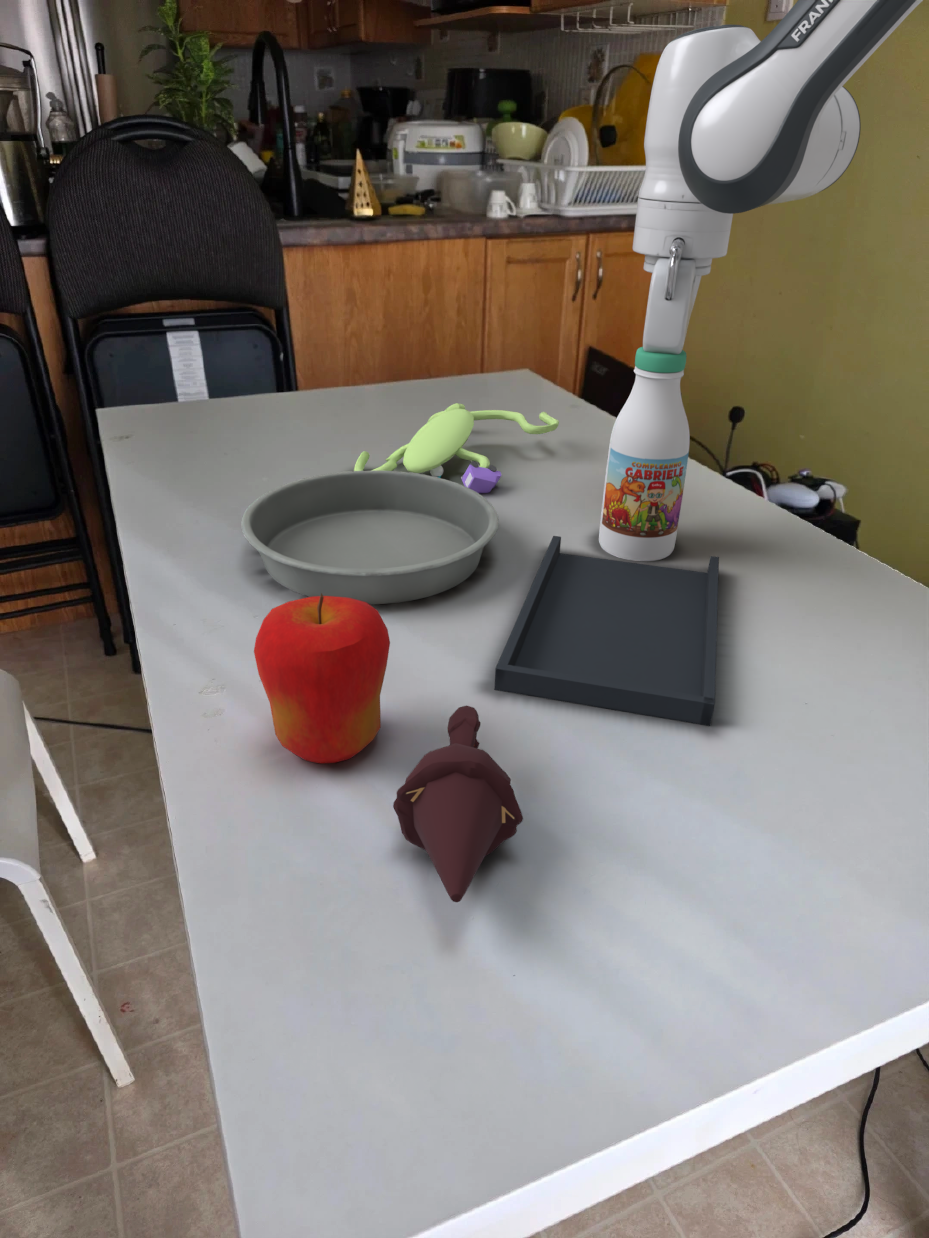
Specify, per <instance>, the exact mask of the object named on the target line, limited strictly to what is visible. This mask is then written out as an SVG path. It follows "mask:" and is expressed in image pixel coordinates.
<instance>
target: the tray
mask: <svg viewBox="0 0 929 1238" xmlns="http://www.w3.org/2000/svg"><path fill="white" fill-rule="evenodd" d="M561 543H562V536H560V535H553V536H552V538H551V541H550V543H549V545H548V547H547V549H546V552H545V554H544V556H543V559H542V561H541V563H540V566H539V568H538V570H537V572H536V575H535V576H534V579H533V582H532V584H531V586H530V588H529V591H528V594H527V596H526V598H525V600H524V603H523V604H522V606H521V609H520V611H519V613H518V615H517V618H516V621H515V622H514V625H513V628H512V630H511V632H510V633H509V634H510V635H509V637H508V639H507V641H506V644H505V646H504V648H503V650H502V652H501V655H500V658H499V660H498V662H497V664H496V666H495V669H494V671H495V672H494V691H499V692H506V693H511V694H516V695H521V696H529V697H535V698H540V699H547V700H551V701H558V702H564V703H570V704H576V705H581V706H589V707H593V708H598V709H599V708H600V709H604V710H611V711H617V712H622V713H629V714H634V715H640V716H648V717H652V718H653V717H654V718H659V719H666V720H671V721H675V722H683V723H688V724H693V725H701V726H706V727H711V725H712V720H713V716H714V711H715V705H716V678H717V677H716V674H717V641H718V639H717V638H718V601H719V568H720V567H719V566H720V565H719V564H720V557H719V556H715V555H710V556H709V561H708V567H707V572H705V571H697V570H690V569H683V568H675V567H667V566H660V565H652V564H645V563H637V562H631V561H630V562H629V561H624V560H623V561H622V560H615V559H609V558H608V559H606V558H600V557H593V556H584V555H577V554H569V553H563V552H562V553H561V545H562V544H561Z"/></svg>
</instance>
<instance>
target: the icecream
mask: <svg viewBox="0 0 929 1238" xmlns="http://www.w3.org/2000/svg"><path fill="white" fill-rule="evenodd" d="M479 716H480V715H479V713H478V711H477V709H476V708H475V707H473V706H469V705H463V706H460V707H458V708H457V709H456V710H455V711H454V712H453V713H452V714H451V716H449V718H448V723H447V734H448V738H449V745H446V746H443V747H439V748H435V749H433V750H430V751H428V752H427V753H426V754H424V755H423V756H422V757H421V759H420V760H419V762H418V763H416V765H415V766H414V768H413V769H412V771H410V773H409V774H408V776H407V777H406V779H405V782H404V783H403V785H401V786H400V787H399V788H397V790H396V798H395V799H394V801H393V805H392V808H393V811H394V812H395V814H396V815H397V819H398V822H399V826H400V830H401V834H402V836H403V837H404V838H405V840H406V841H407V842H408V843H411V844H412V845H414V846H416V847H418V848H420V849H422V850H424V851H426V853H427V855H428V856H429V858H430V861H431V862H432V864H433V867H434V869H435V870H436V872H437V875H438V876H439V879H440V881H441V883H442V885H443V887H444V890H445V892H446V893H447V895H448V897H449V899H450V900H451V901H452V902H453V903H454V902H455V903H459V902H461V901H462V900H463V898H464V896H465V894H466V893H467V891H468V889H469V887H470V886H471V883H472V881H473V879H474V878H475V876H476V873H477V872H478V870H479V868H480V866H481V864H482V863H483V861H484V859H485V857H486V856H488V855H490V854H492V853H493V852H494V851H496V849H497V848H498V847H500V845H502V844H503V843H504V842H505V841H507V840H509V839H511V838H512V837H514V836H515V835H516V833H517V831H518V830H517V828H518V826H519V825H520V824H521V823H523V821H524V816H523V812H522V810H521V807H520V805H519V802H518V800H517V798H516V795H515V791H514V789H513V787H512V785H511V780H512V779H511V777H510V776H509V775H508V774H507V773H506V771H505V770H503V769H502V767H501V766H500V765H499V764H498V763H497V761H495V760H494V758H493V757H492V756H491V755H490V754H489V753H488V752H487V751H485V750H484V749H482V748H479V746H480V742H479V740H478V739H477V734H478V732H479V730H480V728H481V721H480V719H479Z"/></svg>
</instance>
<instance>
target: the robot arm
mask: <svg viewBox="0 0 929 1238" xmlns="http://www.w3.org/2000/svg"><path fill="white" fill-rule="evenodd" d="M923 1H924V0H797V1H796V2H795V4H793V6H791V8H790V10H789V11H788V12H787V13H786V14H785V15H784V16H783V18H782V19H781V20H780V21H779V22H778V23H777V24H776V26H775V27H774V28H773V29H772V30H771V31H770V32H769V33H768V34H767V35H766V36H764V38H763V39H762V40H761V39H759V37H758V36H757V35H756V33H755V32H754V31H753V29H751V28H750V27H748V26H744V25H742V24H721V25H709V26H703V27H700V28H696V29H693V30H689V31H686V32H683V33H682V34H679V35H677V37H676V38H674V39H672V40H671V41H670V42H669V43H667V45H666V46H665V48H663V51H662V53H661V55H660V57H659V59H658V62H657V65H656V70H655V73H654V77H653V82H652V86H651V91H650V99H649V103H648V110H647V116H646V124H645V132H644V140H643V149H644V155H645V170H644V176H643V179H642V183H641V185H640V187H639V189H638V190H639V191H638V195H637V197H638V198H637V205H636V213H635V221H634V222H635V223H634V231H633V240H632V251H633V252H634V253H637V254H640V255H644V262H643V270H644V271H645V272H647V273H651V277H650V282H649V289H648V297H647V303H646V304H647V306H646V312H645V318H644V327H643V335H642V347H643V350H644V351H645V352H654V353H666V354H680V353H681V352H682V350H684V347H685V341H686V338H687V332H688V329H689V324H690V320H691V315H692V313H693V309H694V305H695V302H696V298H697V295H698V291H699V287H700V284H701V280H702V276H707V275H709V274H710V273H711V270H712V262H713V259H719V258H723V257H726V256H727V254H728V249H729V242H730V235H731V230H732V224H733V223H732V222H733V217H734V214H742V213H745V212H749V211H752V210H755V209H758V208H761V207H763V206H767V205H776V204H777V205H778V204H783V203H788V202H793V201H798V200H803V199H807V198H809V197H812V196H814V195H816V194H818V193H821V192H823V191H825V190H826V189H828V188H829V187H831V186H833V185H834V184H835V183H836V182H837V181H838V180H839V179H840V178H841V177H842V176H843V175H844V174H845V172H846V171H847V169H848V168H849V167H850V165H851V163H852V161H853V159H854V158H855V155H856V153H857V150H858V146H859V143H860V137H861V123H862V122H861V114H860V111H859V108H858V107H859V106H858V105H857V102H856V100H855V98H854V96H853V95H852V94H851V92H850V91H849V90H848V89H847V87H844V85H845V84H846V83H847V82H848V81H849V80H850V79H851V77H853V75H854V74H855V73H856V72H857V71H858V70H859V69H860V68H861V67H862V66H863V65H864V63H866V61H867V60H868V59H869V58H870V57H871V56H872V55H873V54H874V53H875V52H876V51H877V50H878V49H879V47H880V46H881V45H882V44H883V43H884V42H885V41H886V40H887V39H888V38H889V37H890V35H891V34H892V33H893V32H894V31H896V29H897V28H898V27H899V26H900V25H901V24H902V22H903V21H905V20H906V18H907V17H908V16H909V15H910V14H911V13H912V12H913V11H914V10H915V9H916V8H917V7H918V6H919V5H920V4H921V3H922V2H923Z"/></svg>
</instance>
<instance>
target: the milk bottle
mask: <svg viewBox="0 0 929 1238" xmlns="http://www.w3.org/2000/svg"><path fill="white" fill-rule="evenodd" d="M686 364H687V352H686V351H685V350H684V349H682V352H681V353H680V354H666V353H654V352H645V351H644V350H643V346H640V347H638V348H636V352H635V356H634V369H633V372H634V374H635V378H634V383H633V385H632V389H631V391H630V393H629V396H628V398H627V399H626V401H625V403H624V405H623V406H622V408H621V409H620V412H618V415H617V417H616V419H615V421H614V424H613V427H612V429H611V434H610V439H609V446H608V451H607V461H606V468H605V477H604V485H603V495H602V503H601V510H600V511H601V513H600V523H599V531H598V543H599V546H600V547H601V549H602V550H603V551H604V552H606V553H607V554H609V555H611V556H613V557H617V558H619V559H623V560H627V561H633V562H654V561H659V560H662V559H665V558H666V559H667V557H669V556H670V555H671V554H672V553H673V551H674V549H675V544H676V540H677V534H678V528H679V521H680V515H681V508H682V502H683V496H684V489H685V482H686V476H687V468H688V462H689V452H690V441H691V439H690V438H691V437H690V427H689V426H690V425H689V421H688V417H687V414H686V410H685V406H684V403H683V400H682V392H681V380H682V378H683V377H684V375H685V369H686Z"/></svg>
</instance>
